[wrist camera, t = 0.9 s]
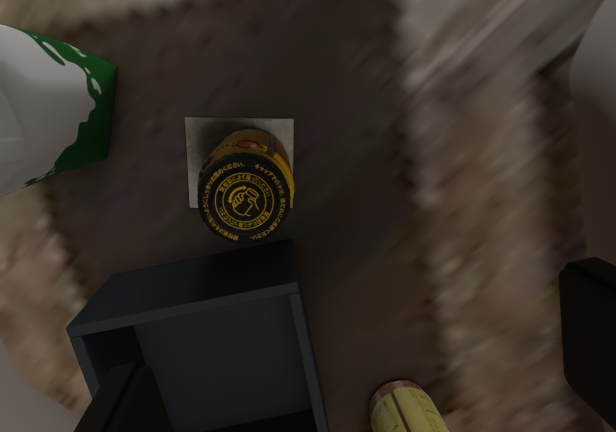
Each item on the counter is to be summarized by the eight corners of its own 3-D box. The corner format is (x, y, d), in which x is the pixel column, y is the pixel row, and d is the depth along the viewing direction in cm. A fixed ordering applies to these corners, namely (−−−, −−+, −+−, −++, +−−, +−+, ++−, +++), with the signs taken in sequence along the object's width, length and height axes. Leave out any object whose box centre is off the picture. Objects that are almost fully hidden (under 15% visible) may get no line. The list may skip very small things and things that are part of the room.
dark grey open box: (111, 274, 38) (65, 328, 29) (291, 239, 38) (297, 281, 30) (166, 440, 42) (140, 527, 34) (325, 407, 43) (338, 484, 34)
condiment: (292, 207, 37) (302, 258, 26) (190, 207, 36) (153, 260, 25) (293, 118, 35) (305, 131, 24) (185, 116, 35) (143, 129, 23)
